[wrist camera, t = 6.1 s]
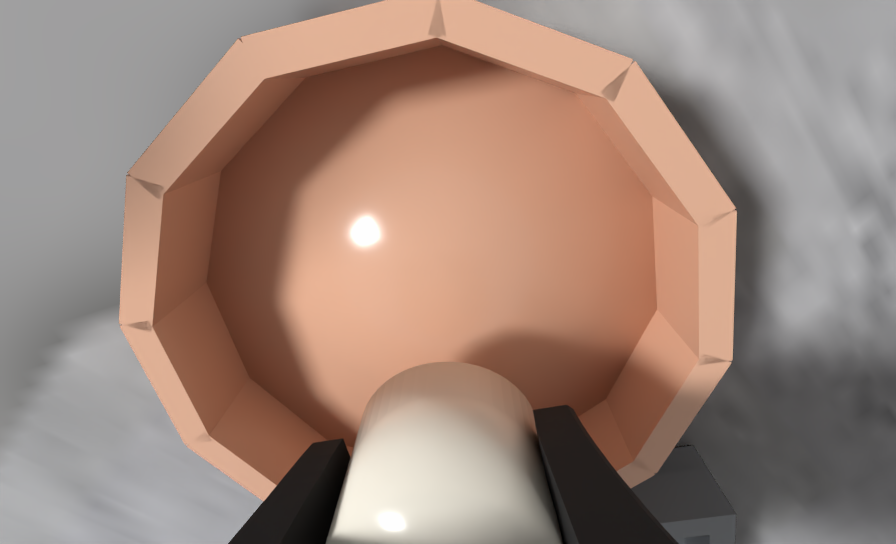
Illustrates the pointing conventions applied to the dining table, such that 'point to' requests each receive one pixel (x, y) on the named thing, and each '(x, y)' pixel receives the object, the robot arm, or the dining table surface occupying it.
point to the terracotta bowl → (424, 236)
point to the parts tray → (688, 500)
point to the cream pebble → (446, 464)
